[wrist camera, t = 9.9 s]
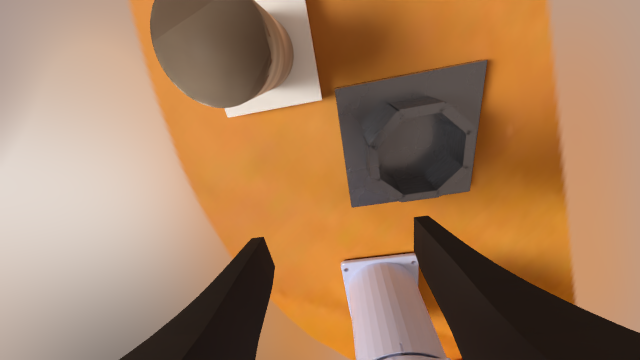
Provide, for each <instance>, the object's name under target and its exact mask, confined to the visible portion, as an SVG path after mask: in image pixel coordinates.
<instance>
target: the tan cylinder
mask: <svg viewBox="0 0 640 360" xmlns="http://www.w3.org/2000/svg"><path fill="white" fill-rule="evenodd" d="M150 30H151V38H152V43H153V47H154V50H155V53H156V56H157V58H158V60H159V62H160V64H161V66H162V68H163V70H164V71H165V73H166V74H167V76H168V77H169V78H170V80H171V81H172V82H173V83H174V84H175V85H176V86H177V87H178V88H179V89H180V90H181V91H182V92H183V93H184V94H186V95H187V96H189V97H190V98H192V99H193V100H195V101H197V102H199V103H202V104H204V105H207V106H211V107H216V108H230V107H235V106H239V105H241V104H243V103H245V102H247V101H249V100H251V99H253V98H255V97H257V96H259V95H262V94H264V93H266V92H268V91H270V90H272V89H274V88H276V87H277V86H279V85H281V84H282V83H283V82H284V81H285V80H286V79H287V77H288V76H289V74H290V72H291V69H292V66H293V60H294V51H293V45H292V42H291V39H290V36H289V35H288V33H287V31H286V29H285V28H284V27H283V26H282V24H281V23H280V22H279V21H277V20H276V19H275V18H274V17H273V16H272V15H271V14H269V13H268V12H267V11H266V10H265V9H264V8H262V7H261V6H260V5H259V4H258V3H257V2H255V1H254V0H155V1H154V3H153V6H152V11H151V19H150Z"/></svg>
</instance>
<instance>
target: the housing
mask: <svg viewBox="0 0 640 360" xmlns="http://www.w3.org/2000/svg"><path fill="white" fill-rule="evenodd" d="M486 66H487V60H478V61H473V62H467V63H462V64H457V65H452V66H447V67H442V68H436V69H431V70H426V71H421V72H416V73H411V74H405V75H400V76H395V77H390V78H385V79H379V80H374V81H369V82H364V83H359V84H354V85H348V86H343V87H338V88H335V95H336V102H337V109H338V116H339V123H340V130H341V137H342V144H343V151H344V158H345V165H346V172H347V179H348V186H349V193H350V200H351V206H352V207H359V206H367V205H374V204H381V203H388V202H396V201H399V202H407V201H414V200H421V199H429V198H436V197H439V196H441V195H447V194H454V193H461V192H468V191H470V185H471V177H472V170H473V162H474V155H475V148H476V140H477V133H478V125H479V118H480V111H481V103H482V96H483V88H484V81H485V73H486Z"/></svg>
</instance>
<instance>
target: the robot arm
mask: <svg viewBox="0 0 640 360" xmlns="http://www.w3.org/2000/svg"><path fill="white" fill-rule="evenodd" d="M414 252H415V253H409V254H400V255H391V256H383V257H374V258H365V259H356V260H347V261H343V262H342V263H341V269H342V274H343V279H344V285H345V290H346V295H347V300H348V305H349V310H350V315H351V317H352V324H353V334H354V344H355V354H356V360H451V359H450V358H447V357H446V355H445V352H444V350H443V347H442V345H441V343H440V340H439V338H438V335H437V333H436V330H435V328H434V325H433V323H432V321H431V318H430V316H429V313H428V311H427V308H426V306H425V303H424V301H423V299H422V296H421V294H420V291H419V289H418V267H419V266H420V269H421V271H422V273H423V275H424V277H425V279H426V281H427V283H428V285H429V287H430V289H431V291H432V293H433V295H434V297H435V299H436V301H437V303H438V305H439V307H440V309H441V311H442V313H443V315H444V317H445V319H446V321H447V323H448V325H449V327H450V329H451V331H452V334H453V336H454V339H455V341H456V344H457V346H458V349H459V351H460V353H461V356H462V358H463V360H640V333H638V332H636V331H633V330H630V329H628V328H626V327H623V326H621V325H618V324H616V323H614V322H612V321H609V320H607V319H605V318H602V317H600V316H598V315H595V314H593V313H591V312H589V311H586V310H584V309H582V308H580V307H578V306H575V305H573V304H571V303H569V302H567V301H565V300H563V299H561V298H559V297H557V296H555V295H553V294H551V293H549V292H547V291H545V290H543V289H541V288H539V287H537V286H535V285H533V284H531V283H529V282H527V281H525V280H524V279H522V278H520V277H518V276H516V275H515V274H513V273H511V272H509V271H508V270H506V269H504V268H502V267H501V266H499V265H497V264H496V263H494V262H493V261H491V260H489V259H488V258H486V257H485V256H483V255H482V254H480V253H478V252H477V251H475V250H474V249H473V248H471V247H470V246H468V245H467V244H465V243H464V242H463V241H461V240H460V239H458V238H457V237H456V236H454V235H453V234H452V233H450V232H449V231H448V230H446V229H445V228H444V227H442V226H441V225H440V224H438V223H437V222H436V221H434V220H433V219H432V218H430V217H429V216H421V217H414ZM412 261H413V262H412ZM345 268H347V269H345ZM274 270H275V266H274V263H273V260H272V258H271V255H270V252H269V250H268V247H267V245H266V242H265V239H264V237H259V238H252V239H251V240H250V241H249V242H248V243H247V244H246V245H245V246H244V247H243V249H242V250H241V251H240V252H239V253H238V254H237V255H236V257H235V258H234V259H233V260H232V261H231V262H230V264H229V265H228V266H227V267H226V268H225V269H224V270H223V271H222V272H221V273H220V274H219V275H218V276H217V277H216V278H215V280H214V281H213V282H212V283H211V284H210V285H209V286H208V287H207V288H206V289H205V290H204V291H203V292H202V293H201V294H200V295H199V296H198V297H197V298H196V299H195V300H193V301H192V302H191V303H190V304H189V305H188V306H187V307H186V308H185V309H183V310H182V311H181V312H180V313H179V314H178V315H177V316H176V317H174V318H173V319H172V320H171V321H169V322H168V323H167V324H166V325H164V326H163V327H162V328H161V329H159V330H158V331H157V332H156V333H155V334H153V335H152V336H151V337H150V338H148V339H147V340H146V341H144V342H143V343H142V344H140V345H139V346H137V347H136V348H135V349H133V350H132V351H131V352H129V353H128V354H126V355H125V356H124V357H122V358H121V359H120V360H255V357H256V351H257V346H258V341H259V337H260V333H261V329H262V325H263V321H264V317H265V313H266V310H267V306H268V302H269V298H270V294H271V290H272V285H273V278H274Z"/></svg>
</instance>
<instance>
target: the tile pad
mask: <svg viewBox="0 0 640 360" xmlns="http://www.w3.org/2000/svg"><path fill="white" fill-rule="evenodd" d="M254 1H255V2H257V3H258V4H259V5H260V6H261V7H262V8H264V9H265V10H266V11H267V12H268V13H269V14H271V15H272V16H273V17H274V18H275V19H276V20H277V21H279V22H280V23H281V24H282V26H283V27H284V28H285V29H286V31H287V33H288V35H289V36H290V39H291V42H292V45H293V51H294V60H293V66H292V69H291V72H290V74H289V76H288V77H287V79H286V80H285V81H284V82H283V83H282V84H281V85H279V86H277V87H276V88H274V89H272V90H270V91H268V92H266V93H264V94H262V95H259V96H257V97H255V98H253V99H251V100H249V101H247V102H245V103H243V104H241V105H239V106H235V107H230V108H225V111H226V114H227V116H228V118H229V117H234V116H239V115H245V114H250V113H255V112H261V111H266V110H271V109H276V108H282V107H287V106H292V105H298V104H303V103H308V102H313V101H319V100H322V94H321V88H320V82H319V77H318V71H317V65H316V59H315V53H314V47H313V41H312V35H311V29H310V24H309V18H308V12H307V6H306V0H254Z"/></svg>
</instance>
